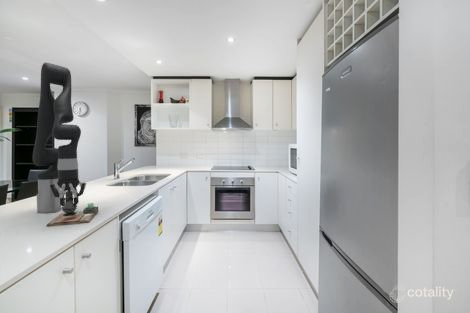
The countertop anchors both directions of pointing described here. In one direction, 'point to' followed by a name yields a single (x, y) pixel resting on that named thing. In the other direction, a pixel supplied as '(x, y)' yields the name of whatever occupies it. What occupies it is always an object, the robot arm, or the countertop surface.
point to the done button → (91, 206)
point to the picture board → (75, 217)
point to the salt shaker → (69, 204)
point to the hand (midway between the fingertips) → (69, 205)
